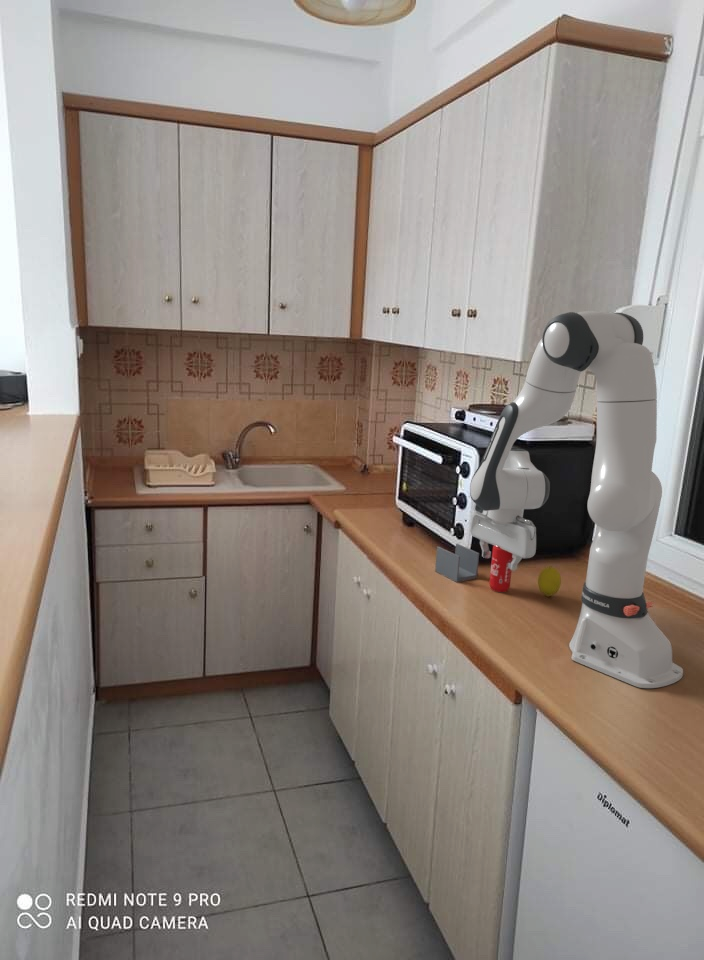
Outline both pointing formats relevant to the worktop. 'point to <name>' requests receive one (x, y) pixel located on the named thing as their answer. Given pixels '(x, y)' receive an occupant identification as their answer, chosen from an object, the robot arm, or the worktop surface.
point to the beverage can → (500, 570)
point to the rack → (457, 563)
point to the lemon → (549, 581)
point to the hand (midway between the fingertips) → (498, 563)
